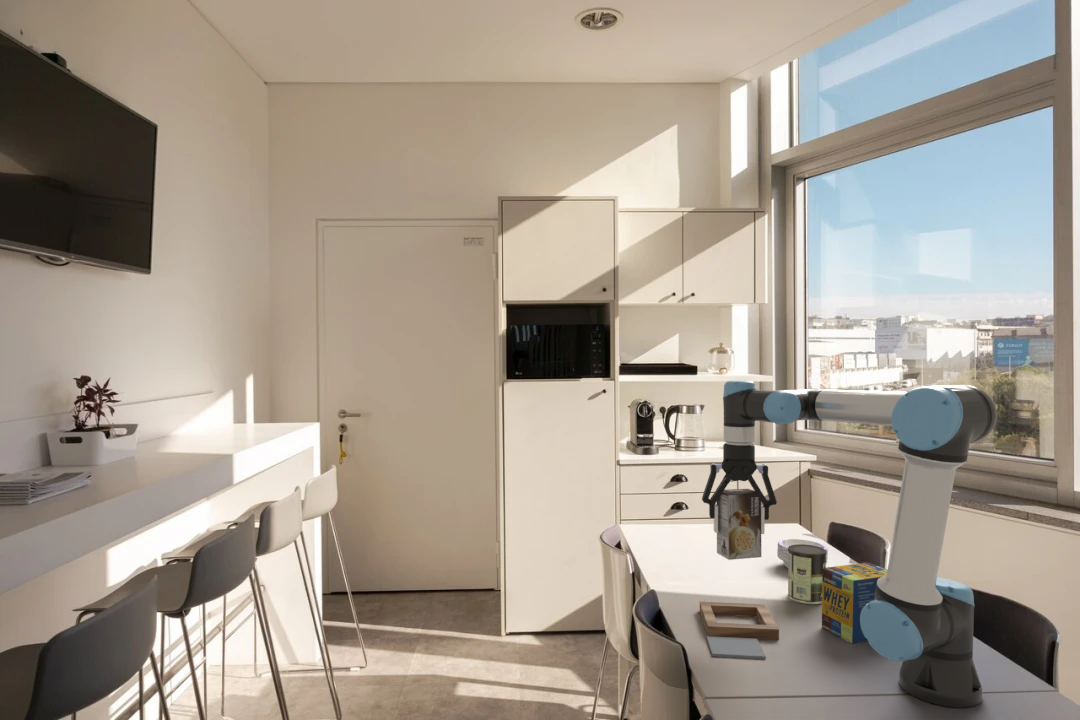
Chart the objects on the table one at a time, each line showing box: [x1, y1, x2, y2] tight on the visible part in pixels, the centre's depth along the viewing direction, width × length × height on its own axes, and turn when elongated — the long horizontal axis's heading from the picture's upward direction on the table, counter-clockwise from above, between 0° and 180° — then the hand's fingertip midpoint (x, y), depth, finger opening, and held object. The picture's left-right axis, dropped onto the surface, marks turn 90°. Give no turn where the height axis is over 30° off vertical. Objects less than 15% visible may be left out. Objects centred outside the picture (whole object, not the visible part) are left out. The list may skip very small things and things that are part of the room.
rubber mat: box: [706, 635, 767, 660], centre depth 169 cm, size 10×12×1 cm
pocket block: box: [699, 601, 780, 640], centre depth 183 cm, size 17×17×2 cm
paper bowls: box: [777, 538, 829, 569], centre depth 230 cm, size 15×15×8 cm
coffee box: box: [716, 488, 762, 561], centre depth 177 cm, size 9×6×16 cm
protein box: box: [821, 561, 888, 644], centre depth 179 cm, size 10×15×16 cm
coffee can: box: [787, 544, 827, 605], centre depth 203 cm, size 10×10×14 cm
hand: (738, 531), depth 177 cm, fingers closed on coffee box, 10 cm apart
